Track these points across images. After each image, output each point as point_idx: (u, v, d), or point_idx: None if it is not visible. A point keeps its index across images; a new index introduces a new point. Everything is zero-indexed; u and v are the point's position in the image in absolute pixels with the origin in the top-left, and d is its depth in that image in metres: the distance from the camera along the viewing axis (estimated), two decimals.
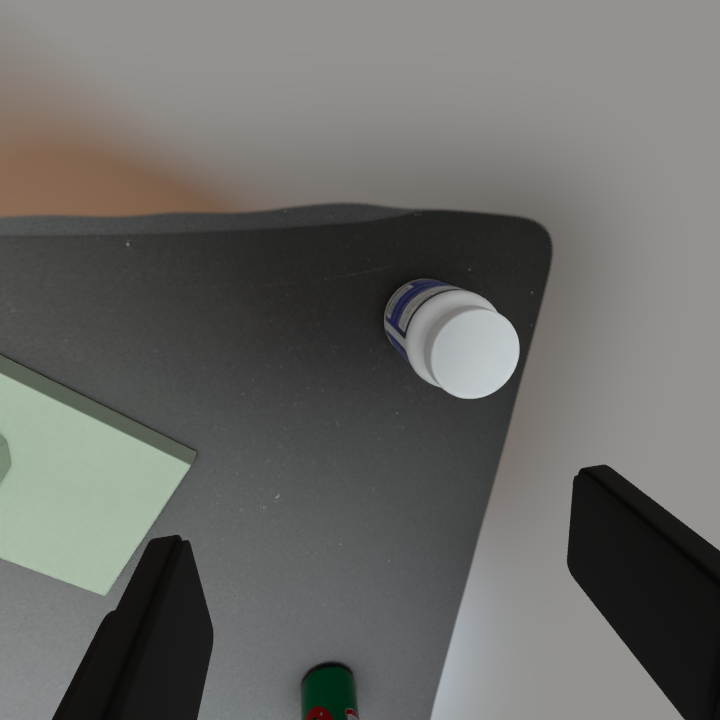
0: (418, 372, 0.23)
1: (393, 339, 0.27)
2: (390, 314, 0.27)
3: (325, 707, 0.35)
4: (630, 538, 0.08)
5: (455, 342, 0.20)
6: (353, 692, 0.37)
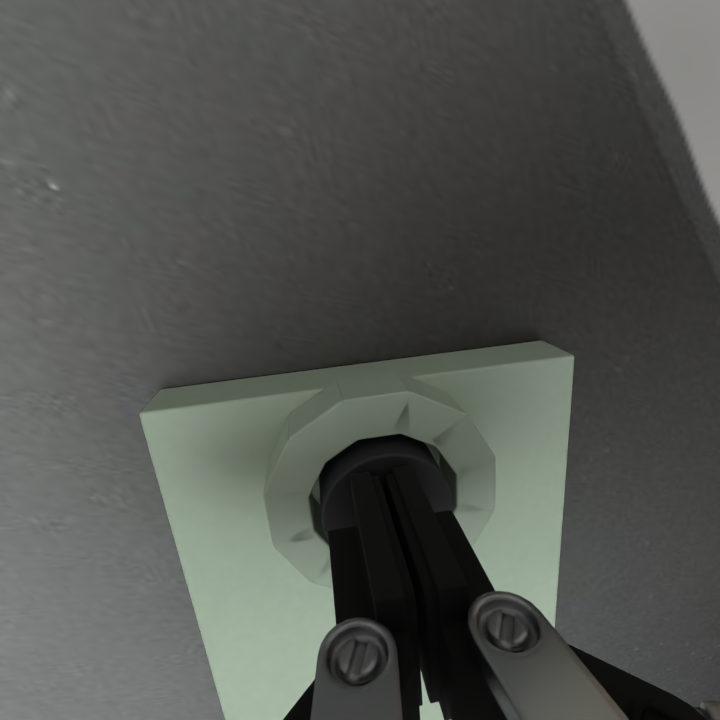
0: None
1: None
2: None
3: None
4: (401, 532, 0.09)
5: None
6: None
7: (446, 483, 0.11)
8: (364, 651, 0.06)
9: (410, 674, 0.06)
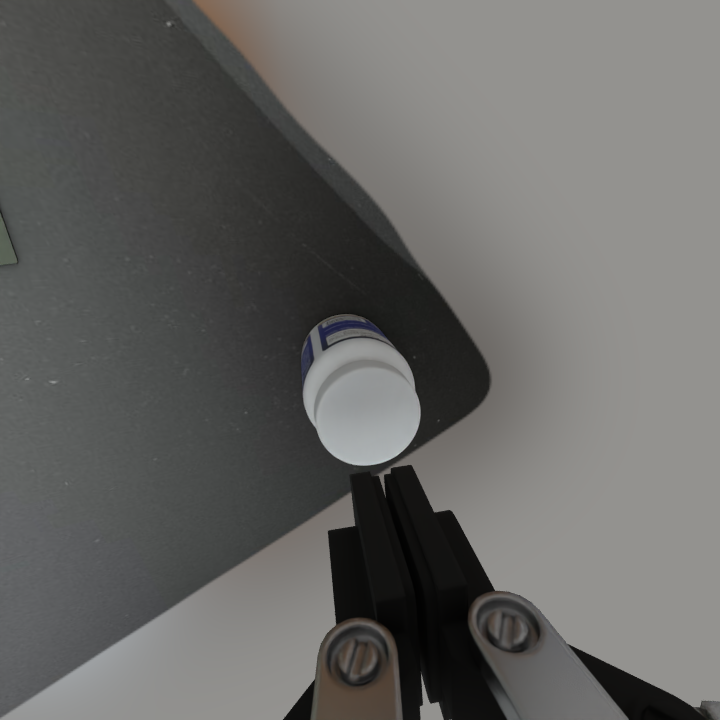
0: (305, 389, 0.20)
1: (309, 346, 0.23)
2: (326, 325, 0.24)
3: None
4: (401, 532, 0.09)
5: (365, 390, 0.18)
6: None
7: None
8: (364, 651, 0.06)
9: (410, 674, 0.06)
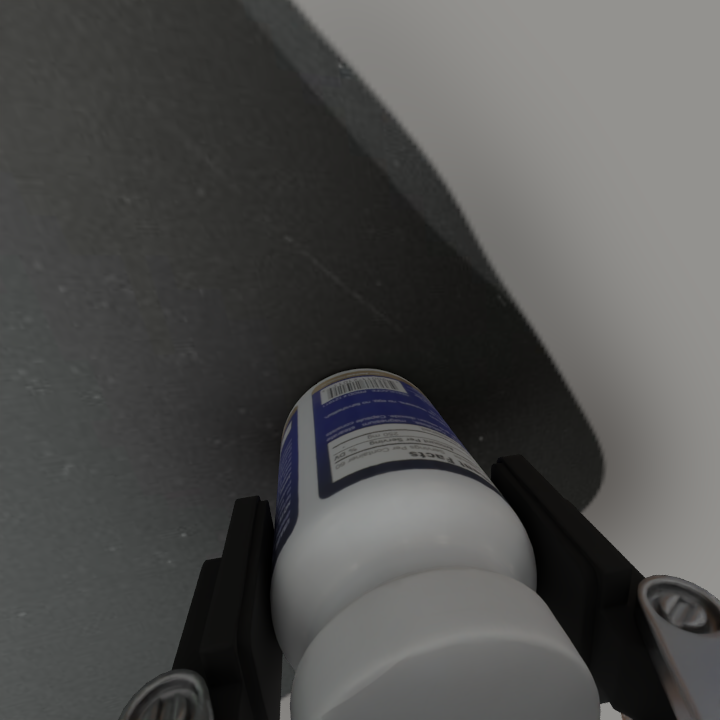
0: (275, 598, 0.08)
1: (293, 446, 0.11)
2: (329, 398, 0.12)
3: None
4: (528, 520, 0.09)
5: (450, 695, 0.06)
6: None
7: None
8: (175, 709, 0.06)
9: None
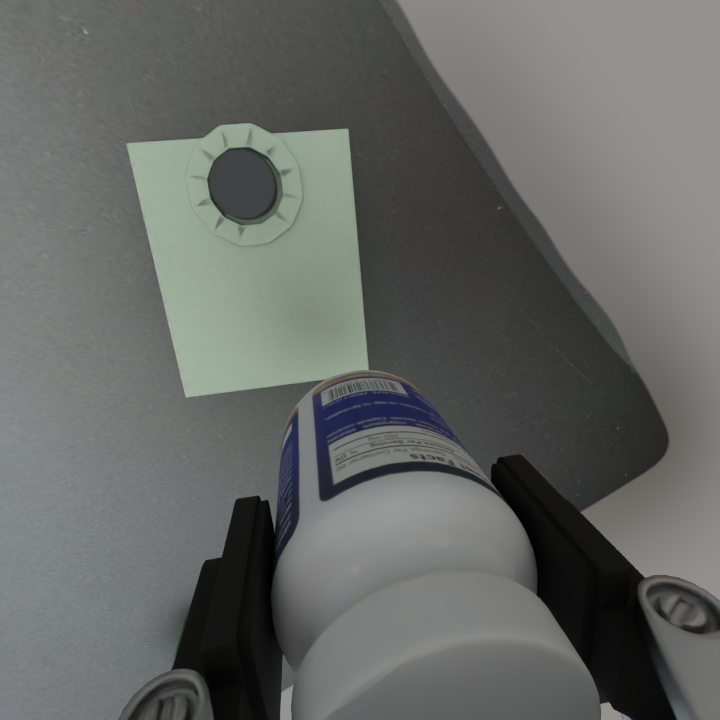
0: (276, 600, 0.08)
1: (294, 447, 0.11)
2: (330, 399, 0.12)
3: None
4: (528, 520, 0.09)
5: (450, 698, 0.06)
6: None
7: (270, 169, 0.23)
8: (175, 709, 0.06)
9: None
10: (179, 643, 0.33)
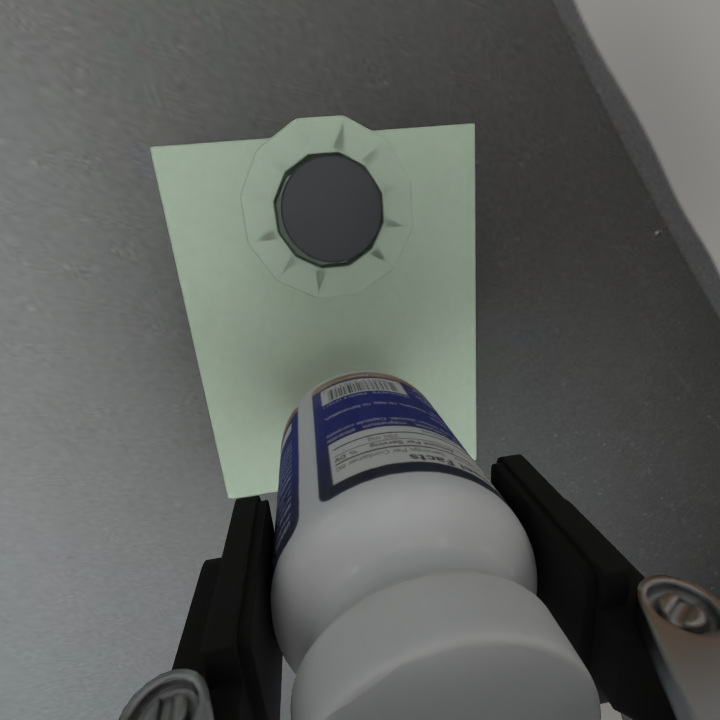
0: (275, 600, 0.08)
1: (293, 447, 0.11)
2: (330, 399, 0.12)
3: None
4: (528, 520, 0.09)
5: (450, 699, 0.06)
6: None
7: (376, 187, 0.15)
8: (175, 709, 0.06)
9: None
10: None
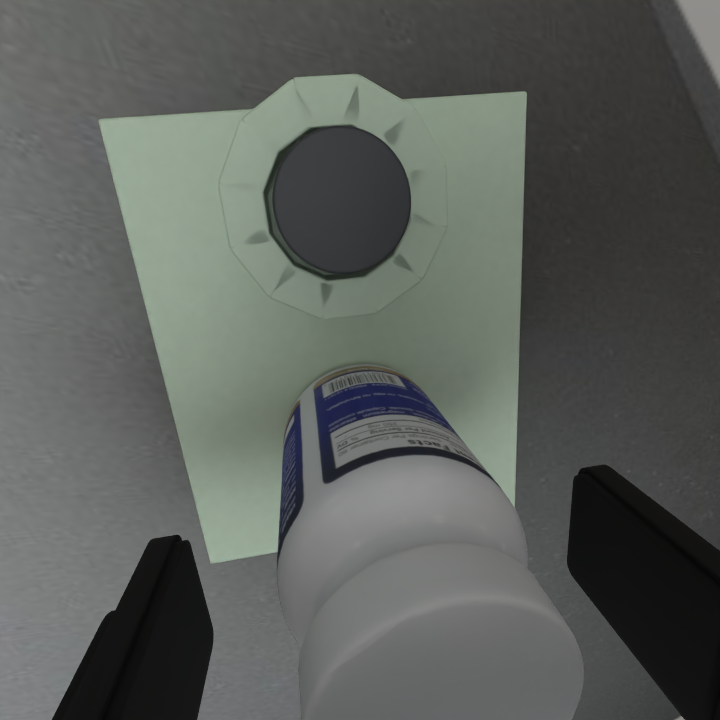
0: (282, 576, 0.08)
1: (296, 437, 0.12)
2: (331, 392, 0.13)
3: None
4: (630, 538, 0.08)
5: (446, 656, 0.06)
6: None
7: (403, 171, 0.11)
8: None
9: None
10: None
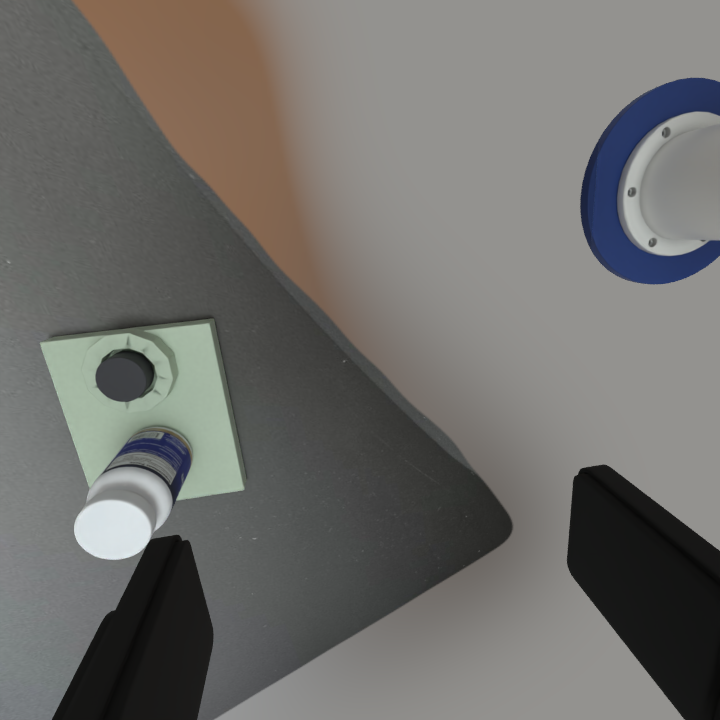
0: None
1: None
2: (130, 441, 0.33)
3: None
4: (630, 538, 0.08)
5: (106, 513, 0.27)
6: None
7: (141, 369, 0.31)
8: None
9: None
10: None
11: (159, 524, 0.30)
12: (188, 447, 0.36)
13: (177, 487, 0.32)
